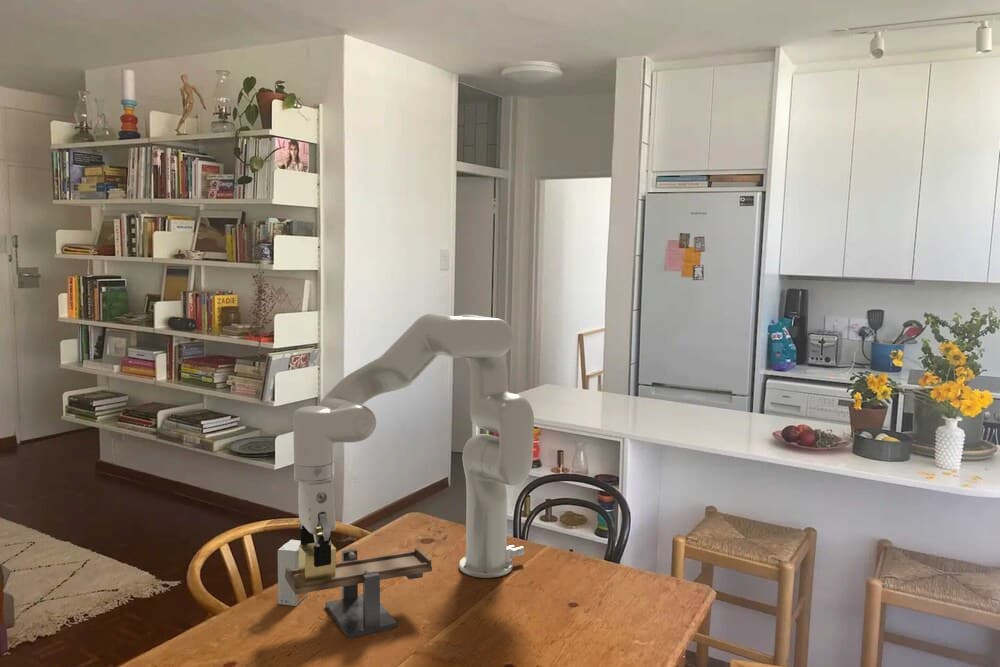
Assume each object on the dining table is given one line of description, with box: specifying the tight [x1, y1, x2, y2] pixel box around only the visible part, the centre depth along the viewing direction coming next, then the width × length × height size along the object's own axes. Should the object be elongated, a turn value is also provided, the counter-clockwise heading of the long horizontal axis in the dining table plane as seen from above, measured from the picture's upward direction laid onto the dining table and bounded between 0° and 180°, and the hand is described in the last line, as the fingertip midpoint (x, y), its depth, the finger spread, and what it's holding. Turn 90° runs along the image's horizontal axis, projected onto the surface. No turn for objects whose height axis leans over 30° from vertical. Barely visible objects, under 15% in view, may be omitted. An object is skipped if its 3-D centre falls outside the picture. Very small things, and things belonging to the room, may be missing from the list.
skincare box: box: [277, 539, 309, 607], centre depth 165 cm, size 6×4×12 cm
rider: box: [299, 542, 337, 582], centre depth 153 cm, size 6×5×6 cm
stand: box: [325, 548, 398, 640], centre depth 158 cm, size 10×15×12 cm, turn 29°
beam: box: [285, 547, 433, 595], centre depth 157 cm, size 28×11×4 cm, turn 119°
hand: (315, 556), depth 152 cm, fingers open, 9 cm apart
